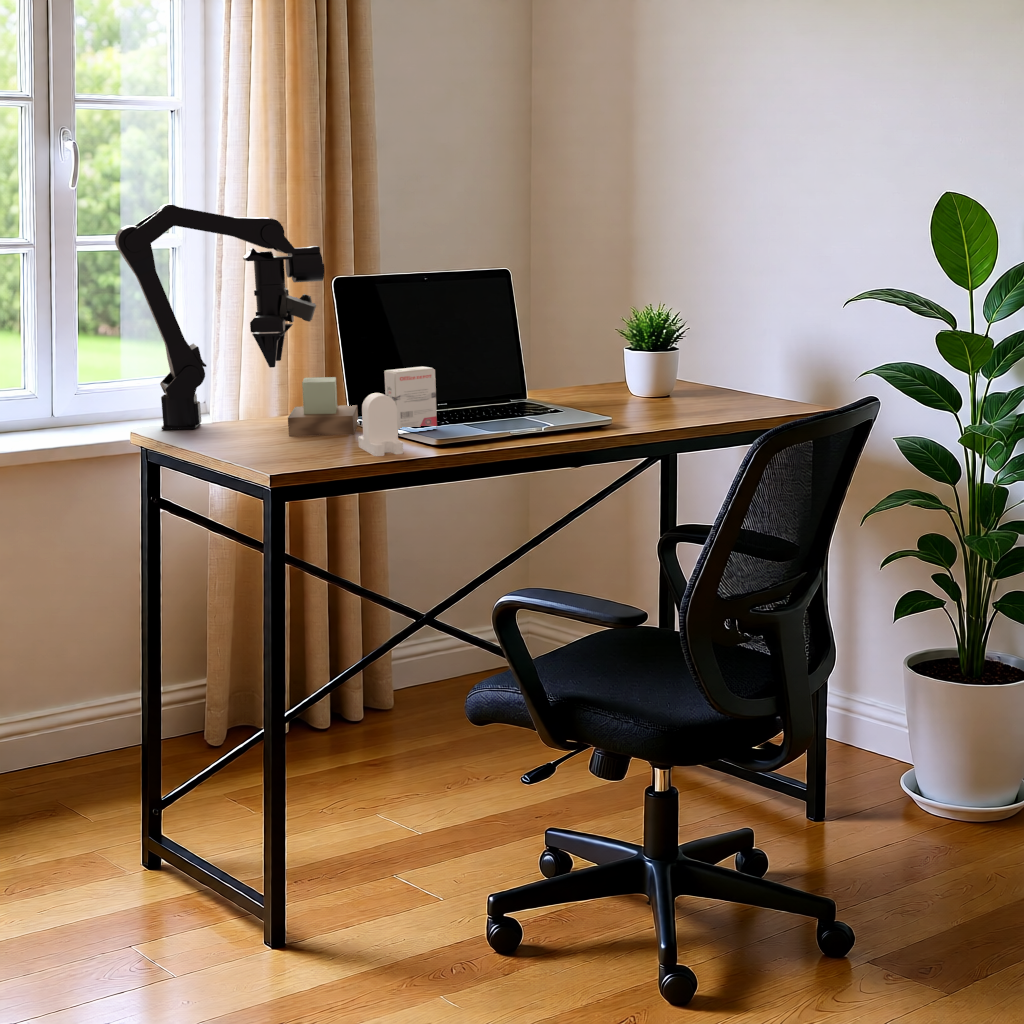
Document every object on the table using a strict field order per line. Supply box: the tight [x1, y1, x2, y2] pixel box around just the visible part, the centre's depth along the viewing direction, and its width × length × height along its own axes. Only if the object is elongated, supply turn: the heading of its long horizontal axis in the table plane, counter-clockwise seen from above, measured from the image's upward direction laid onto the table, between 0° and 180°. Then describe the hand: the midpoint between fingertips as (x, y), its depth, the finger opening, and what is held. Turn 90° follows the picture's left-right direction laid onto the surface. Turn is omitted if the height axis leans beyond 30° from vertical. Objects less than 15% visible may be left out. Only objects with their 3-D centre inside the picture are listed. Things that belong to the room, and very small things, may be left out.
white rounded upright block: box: [357, 392, 404, 457], centre depth 243 cm, size 5×10×10 cm, turn 24°
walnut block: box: [287, 404, 359, 437], centre depth 264 cm, size 12×12×4 cm
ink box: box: [383, 365, 438, 429], centre depth 260 cm, size 9×5×12 cm, turn 121°
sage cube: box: [301, 376, 338, 414], centre depth 263 cm, size 6×6×6 cm
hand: (275, 363), depth 273 cm, fingers open, 9 cm apart
